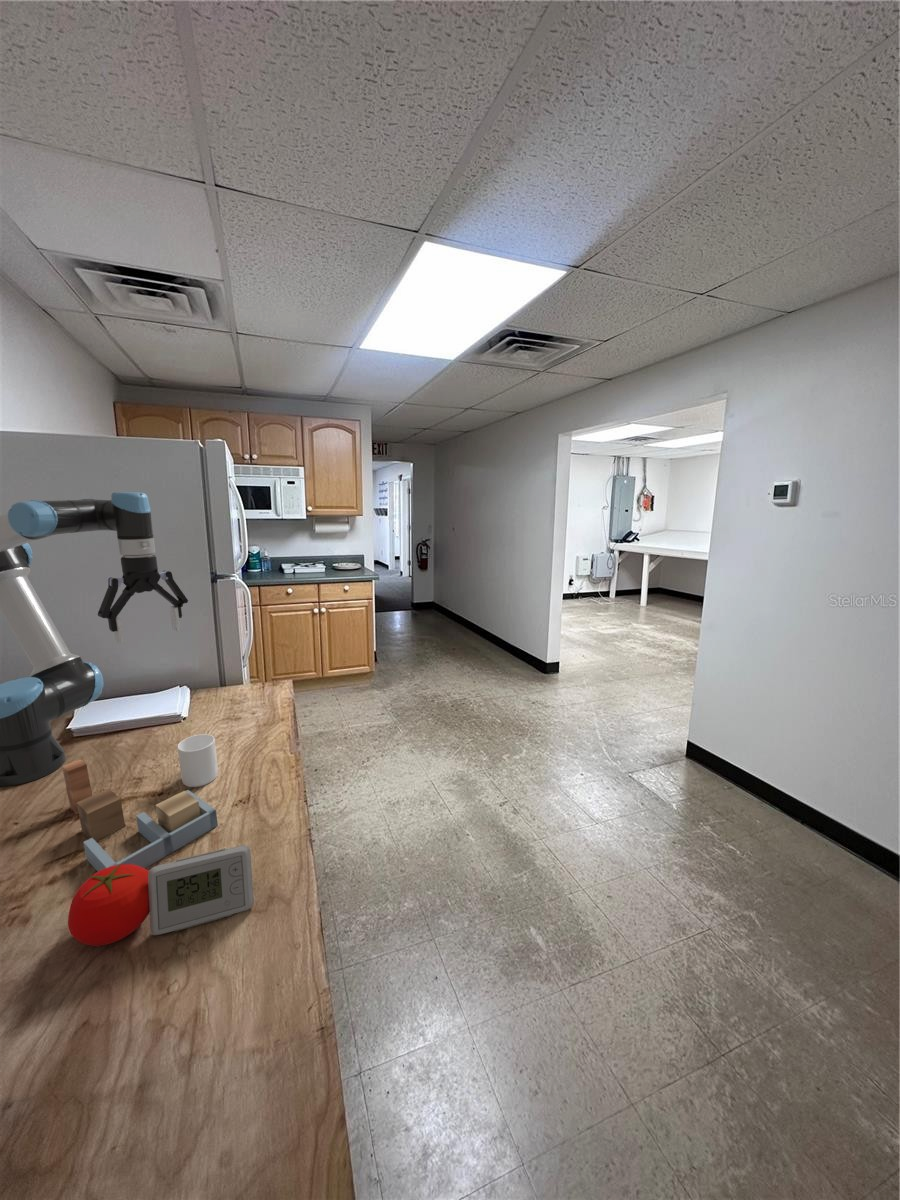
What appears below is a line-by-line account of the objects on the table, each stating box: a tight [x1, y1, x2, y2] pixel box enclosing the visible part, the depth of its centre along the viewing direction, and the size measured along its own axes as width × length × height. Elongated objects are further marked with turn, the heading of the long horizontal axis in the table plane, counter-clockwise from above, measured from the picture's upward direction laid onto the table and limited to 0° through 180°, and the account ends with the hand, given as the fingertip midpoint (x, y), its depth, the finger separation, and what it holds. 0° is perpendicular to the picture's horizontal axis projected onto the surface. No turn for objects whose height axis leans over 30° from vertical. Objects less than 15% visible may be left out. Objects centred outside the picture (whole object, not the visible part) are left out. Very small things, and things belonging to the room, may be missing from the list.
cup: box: [177, 733, 219, 788], centre depth 121 cm, size 8×12×10 cm
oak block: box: [155, 790, 200, 833], centre depth 102 cm, size 6×6×7 cm
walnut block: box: [61, 759, 126, 842], centre depth 104 cm, size 17×6×11 cm, turn 55°
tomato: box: [67, 864, 150, 947], centre depth 79 cm, size 11×12×10 cm
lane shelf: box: [83, 789, 219, 872], centre depth 99 cm, size 12×20×4 cm, turn 145°
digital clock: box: [148, 844, 255, 936], centre depth 82 cm, size 16×9×11 cm, turn 100°
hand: (149, 636), depth 122 cm, fingers open, 13 cm apart
